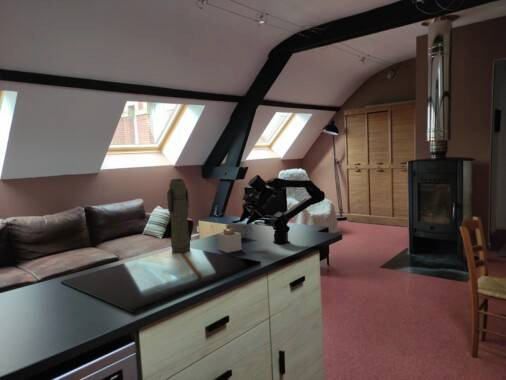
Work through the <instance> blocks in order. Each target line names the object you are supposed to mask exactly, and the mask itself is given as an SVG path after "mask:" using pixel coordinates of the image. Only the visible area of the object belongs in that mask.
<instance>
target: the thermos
mask: <svg viewBox="0 0 506 380" xmlns="http://www.w3.org/2000/svg"><path fill="white" fill-rule="evenodd" d="M186 186H187V185H186V182H185V179H182V178H172V179H170V182H169V187H168V188H169V189H168V190H167V192H166V196H167V199H166V200H167V209H168V212H169V218H170V224H171V225H170V227H171V237H170V242H171V243H170V244H171V251H172V252H173V253H172V252H171V253H172V254H175V253H182V254H187V253H190V252H191V236H190V233H189V220H188V218H189V217H188V216H189V208H190V200H189V190H188V188H186Z"/></svg>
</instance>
